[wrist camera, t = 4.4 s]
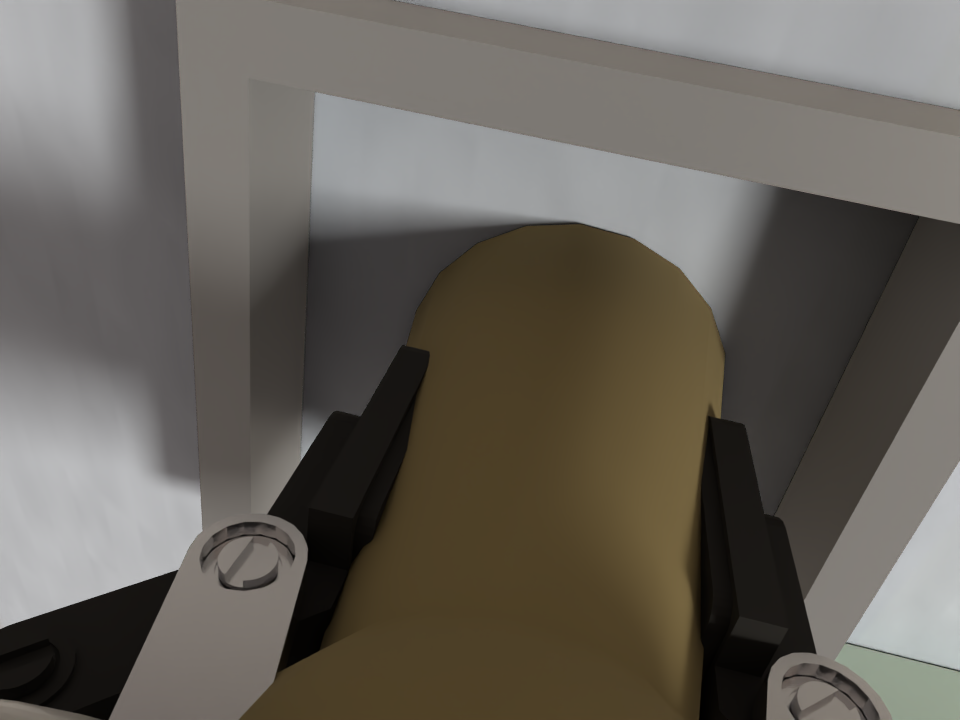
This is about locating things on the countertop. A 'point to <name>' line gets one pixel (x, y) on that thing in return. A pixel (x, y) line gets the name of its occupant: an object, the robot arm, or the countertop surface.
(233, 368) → the frame
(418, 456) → the cork
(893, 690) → the tray
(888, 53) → the countertop surface
